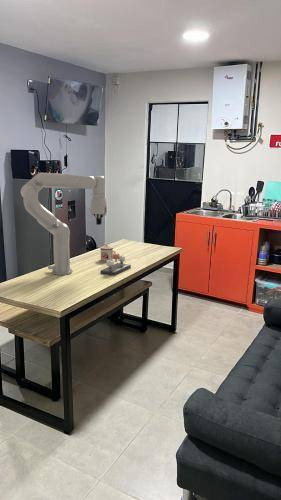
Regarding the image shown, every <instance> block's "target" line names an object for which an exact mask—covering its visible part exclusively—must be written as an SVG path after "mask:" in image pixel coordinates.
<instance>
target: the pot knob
mask: <svg viewBox="0 0 281 500" xmlns="http://www.w3.org/2000/svg"><path fill="white" fill-rule="evenodd" d="M119 256H120V253H119V252H116V253H114V252H113V260H114V263H118V259H119Z"/></svg>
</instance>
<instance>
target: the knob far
mask: <svg viewBox="0 0 281 500" xmlns="http://www.w3.org/2000/svg"><path fill="white" fill-rule="evenodd" d="M118 261H119V263H120V264H124V262H125V261H126V256H125V255H119V259H117V262H118Z"/></svg>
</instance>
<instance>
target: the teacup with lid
mask: <svg viewBox="0 0 281 500" xmlns="http://www.w3.org/2000/svg"><path fill="white" fill-rule="evenodd" d="M114 253H117V252H116V251H115V250H114V247H113V246H112V245H109V244H108V243H105V244H104V245H103V246H100V261H102V262H107V260H113V261H114V259H113V254H114Z"/></svg>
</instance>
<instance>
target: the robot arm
mask: <svg viewBox="0 0 281 500" xmlns="http://www.w3.org/2000/svg"><path fill="white" fill-rule="evenodd" d="M44 188H47V189H49V188H50V189H52V188H53V189H54V188H55V189H83V190H86V189H87V190H92V193H91V194H90V195H91V198H90V206H89V207H90V208H89V209H90V210H89V211H90V213H91V215H92V216H94V217H95V221H96V226H97V225H102V218H103V217H106V216H107V212H108V211H107V210H108V207H107V200H106V196H105V195H106V194H105V176H104V175H94V176H91V175H74V174H69V173H53V172H39V173H36V175H34V176H33V177H32V178H31V179H30V180H29V181H27V182H26V183H25V184H24V185H23V186H22V187H21V189H20V195H21V197H22V198H23V200H22V201H23V206H24V209H25V210H26V212H27V213H28V214H30V215H31V216H32V217H33V218H34V219H35V220H36V221H37V223H38V224H39V225H41V227H43V228H44V229H45V230H47V231H48V232H49V233H50V234H52V235H53V262H54V265H47V269H48V270H52V272H51V273H52V274H53V275H56V276H65V275H66V276H67V275H70V274H72V273H73V271H74V270H73V269H72V268H71V259H70V235H71V231H70V228H69V226H68V225H67V224H66V223H65V222H62V221H61V220H59V219H58V218H57V217H56V216H55V214H53V213H52V212H51V211H49V210H48V209H47V208H46V207H44V205H42V204H41V203H40V201H39V192H40V191H41V190H42V189H44Z"/></svg>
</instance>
